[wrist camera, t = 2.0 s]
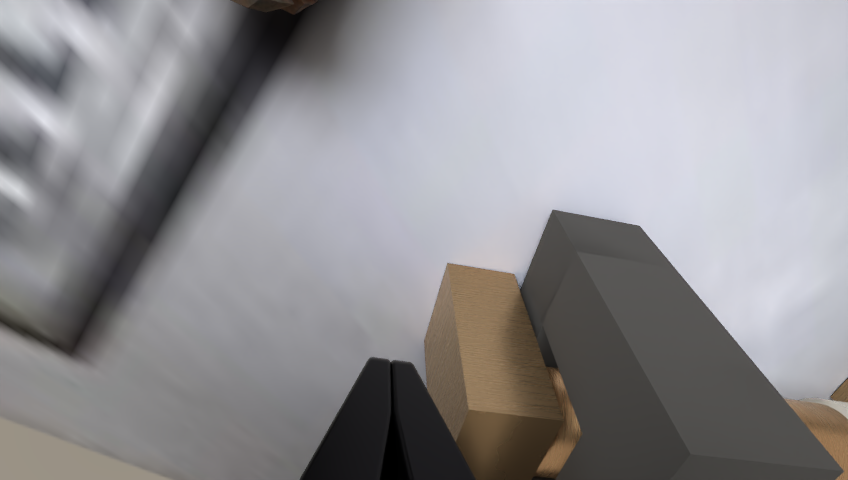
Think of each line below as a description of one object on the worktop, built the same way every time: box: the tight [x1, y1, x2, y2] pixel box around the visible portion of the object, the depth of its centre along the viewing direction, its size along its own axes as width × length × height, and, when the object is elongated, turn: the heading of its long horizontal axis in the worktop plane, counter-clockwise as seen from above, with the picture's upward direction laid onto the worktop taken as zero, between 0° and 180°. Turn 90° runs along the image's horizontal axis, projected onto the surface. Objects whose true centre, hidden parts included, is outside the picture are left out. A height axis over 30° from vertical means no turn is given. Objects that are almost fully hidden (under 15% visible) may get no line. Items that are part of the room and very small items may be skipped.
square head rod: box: [424, 263, 848, 480], centre depth 16 cm, size 20×4×6 cm, turn 77°
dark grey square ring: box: [520, 210, 844, 480], centre depth 14 cm, size 3×9×9 cm, turn 168°
